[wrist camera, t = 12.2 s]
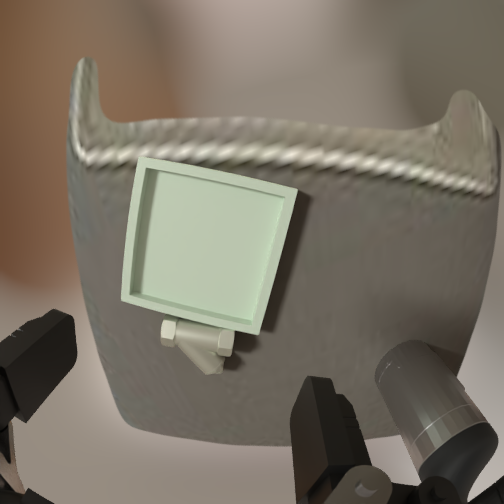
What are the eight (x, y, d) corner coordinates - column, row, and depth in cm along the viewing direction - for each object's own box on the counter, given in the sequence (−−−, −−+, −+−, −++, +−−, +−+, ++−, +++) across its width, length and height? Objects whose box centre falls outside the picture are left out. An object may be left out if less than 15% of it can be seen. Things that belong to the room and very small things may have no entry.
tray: (295, 188, 29) (297, 189, 27) (258, 326, 33) (258, 335, 31) (146, 157, 28) (138, 156, 27) (127, 293, 33) (121, 300, 31)
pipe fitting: (228, 365, 35) (235, 319, 34) (226, 384, 32) (234, 336, 30) (166, 354, 35) (168, 308, 33) (159, 372, 31) (160, 323, 29)
